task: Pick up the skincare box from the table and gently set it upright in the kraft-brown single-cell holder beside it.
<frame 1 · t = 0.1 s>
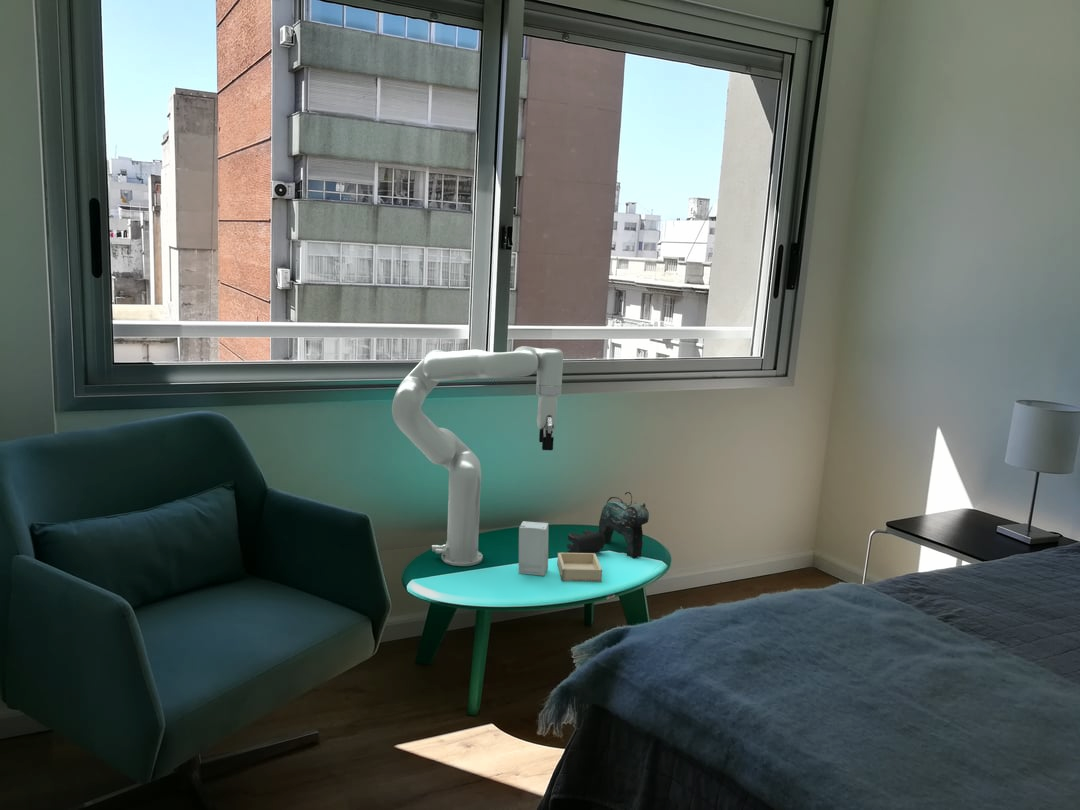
hand: (545, 446, 258), 37 cm above the table, tool pointing down, fingers open, 9 cm apart
ceramic cat: (619, 550, 278), on the table
holder: (578, 572, 257), on the table
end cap: (584, 554, 273), on the table
skincare box: (532, 572, 256), on the table
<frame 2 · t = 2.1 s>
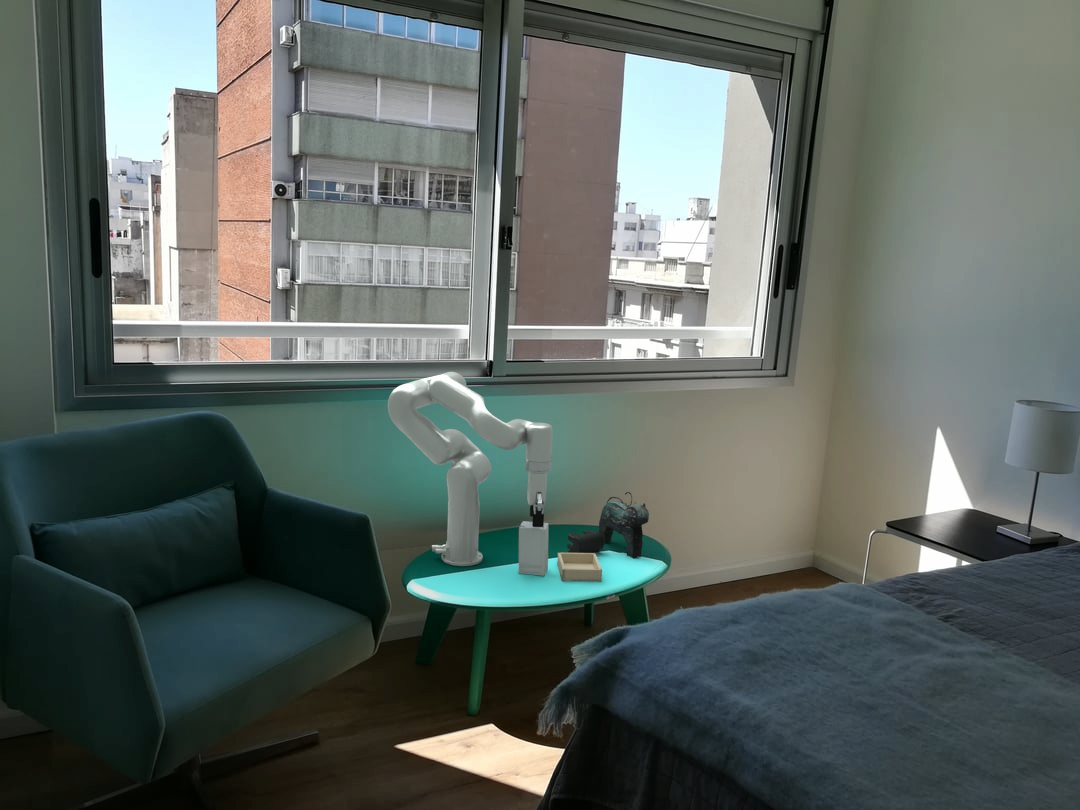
hand: (536, 521, 253), 16 cm above the table, tool pointing down, fingers open, 9 cm apart
nothing on the table moved.
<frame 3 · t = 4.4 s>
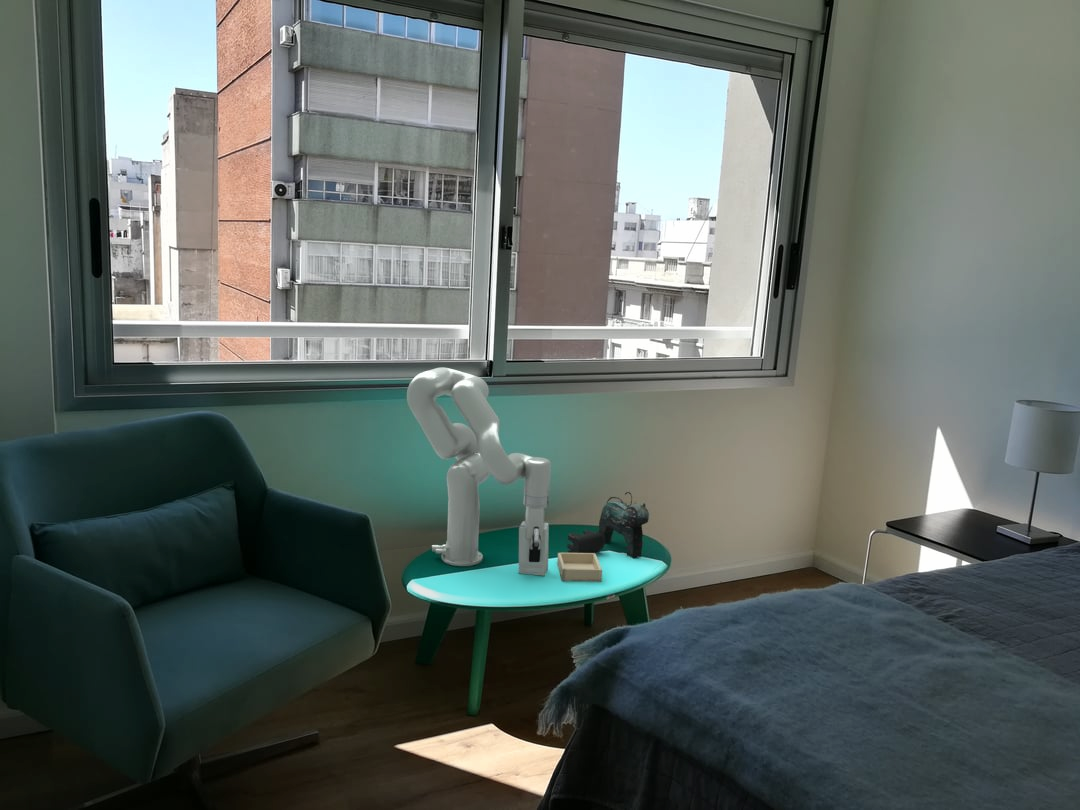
hand: (533, 556, 255), 5 cm above the table, tool pointing down, fingers closed on skincare box, 6 cm apart
skincare box: (532, 572, 256), on the table, touching gripper
everything else where it was.
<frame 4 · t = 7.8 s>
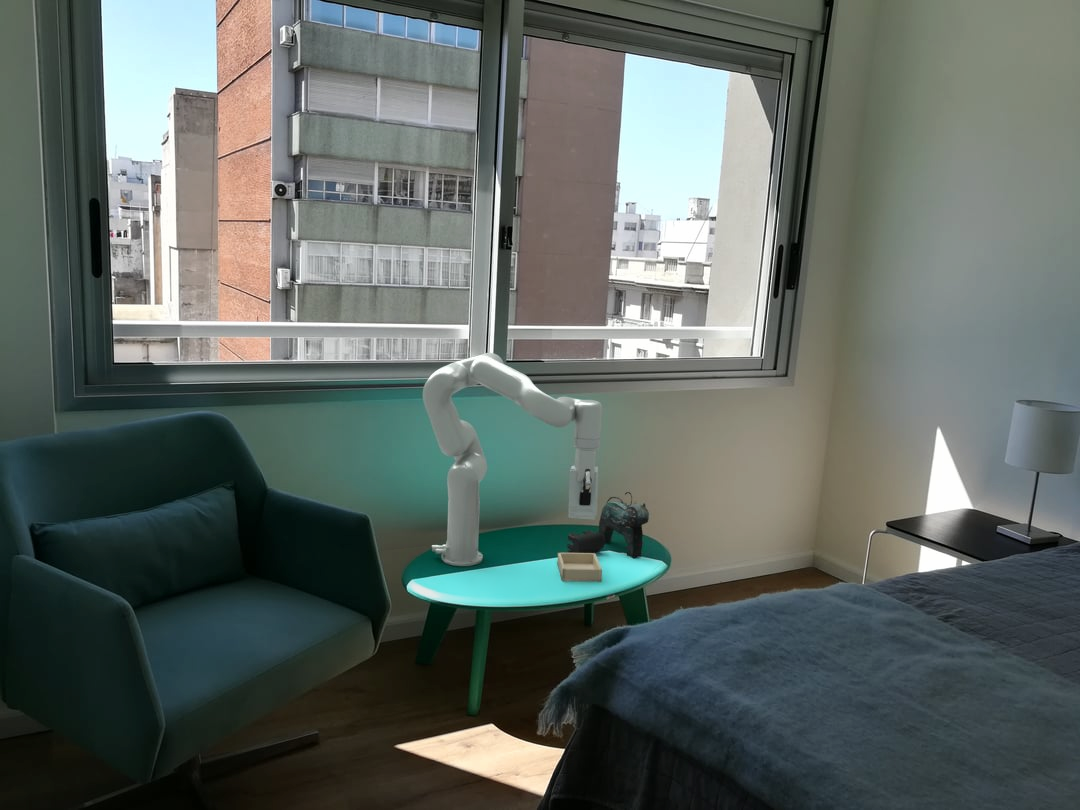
hand: (582, 500, 253), 22 cm above the table, tool pointing down, fingers closed on skincare box, 6 cm apart
skincare box: (581, 517, 254), point 17 cm above the table, touching gripper
everything else where it was.
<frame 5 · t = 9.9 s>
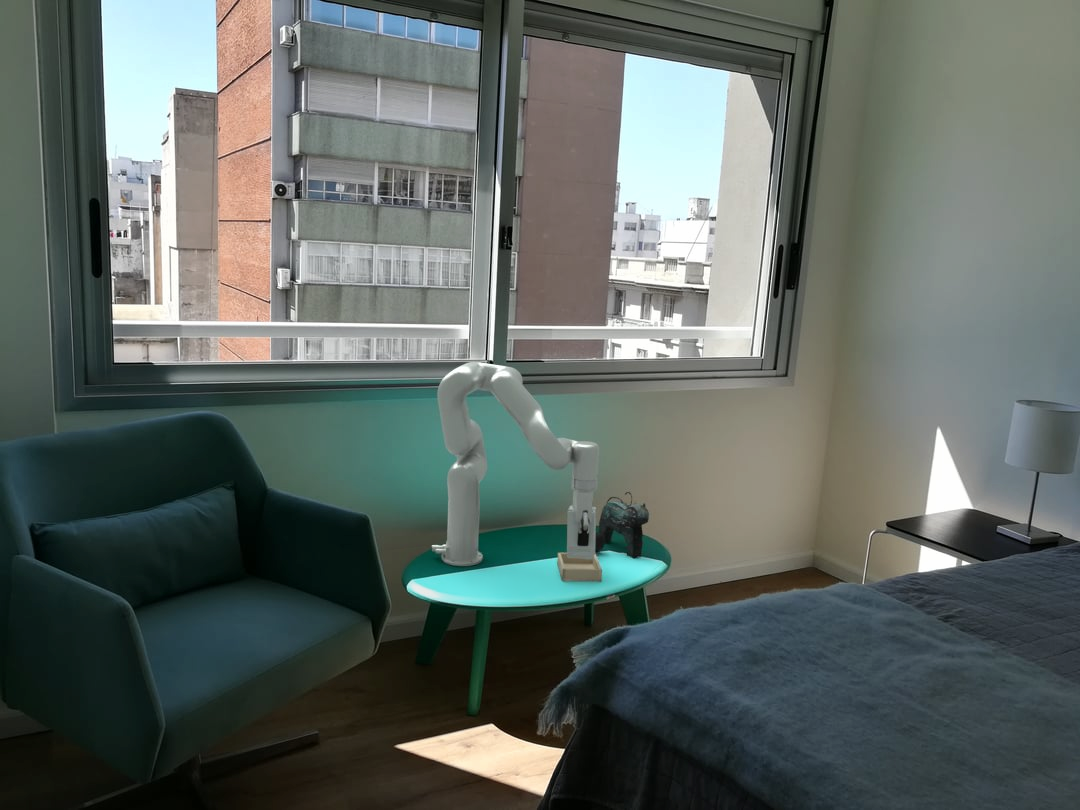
hand: (581, 540, 255), 10 cm above the table, tool pointing down, fingers closed on skincare box, 6 cm apart
skincare box: (580, 556, 256), point 5 cm above the table, touching gripper
everything else where it was.
when the fingers open (7 cm above the table, at t = 11.6 s): skincare box drops 1 cm, resting on holder.
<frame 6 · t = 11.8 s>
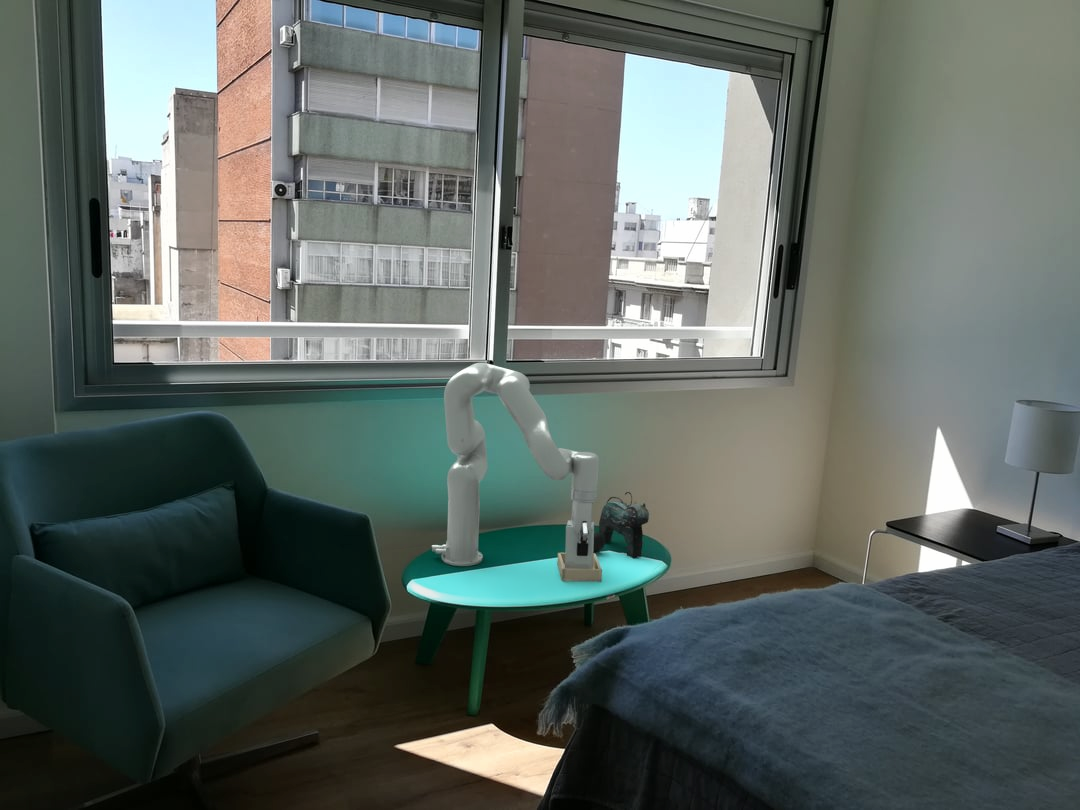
hand: (580, 550, 256), 7 cm above the table, tool pointing down, fingers open, 8 cm apart
skincare box: (578, 571, 257), resting on holder
everything else where it was.
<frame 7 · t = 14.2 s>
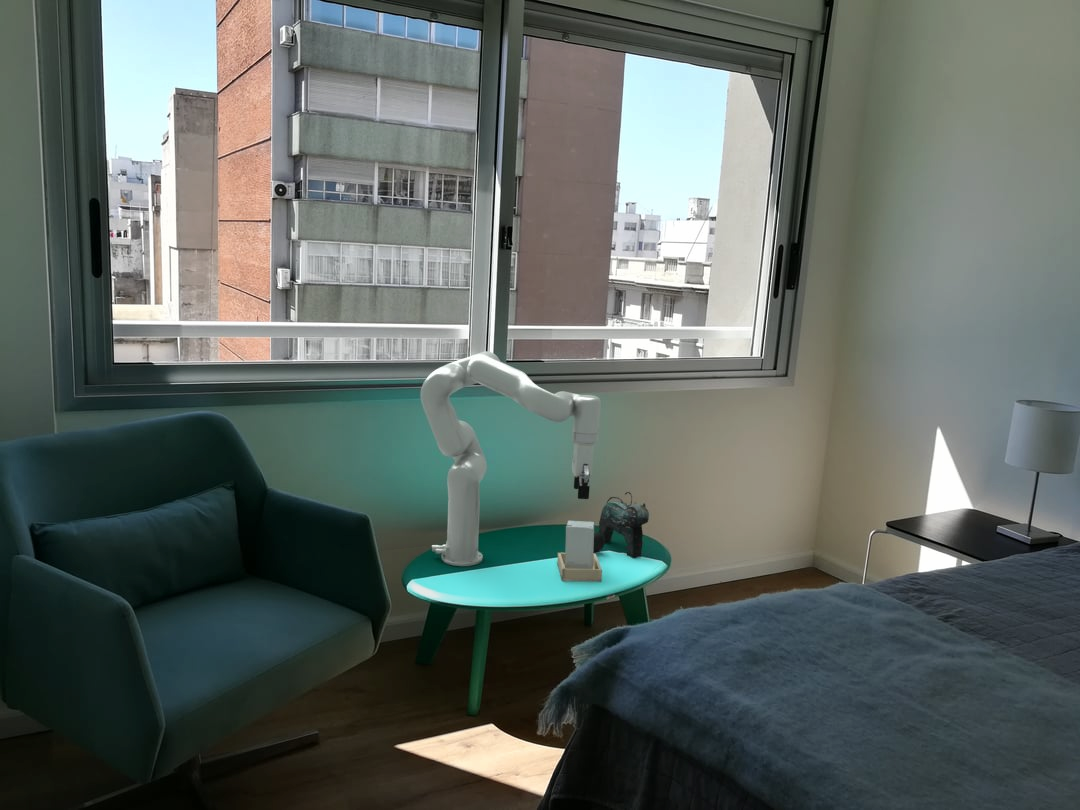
hand: (581, 493, 253), 24 cm above the table, tool pointing down, fingers open, 9 cm apart
nothing on the table moved.
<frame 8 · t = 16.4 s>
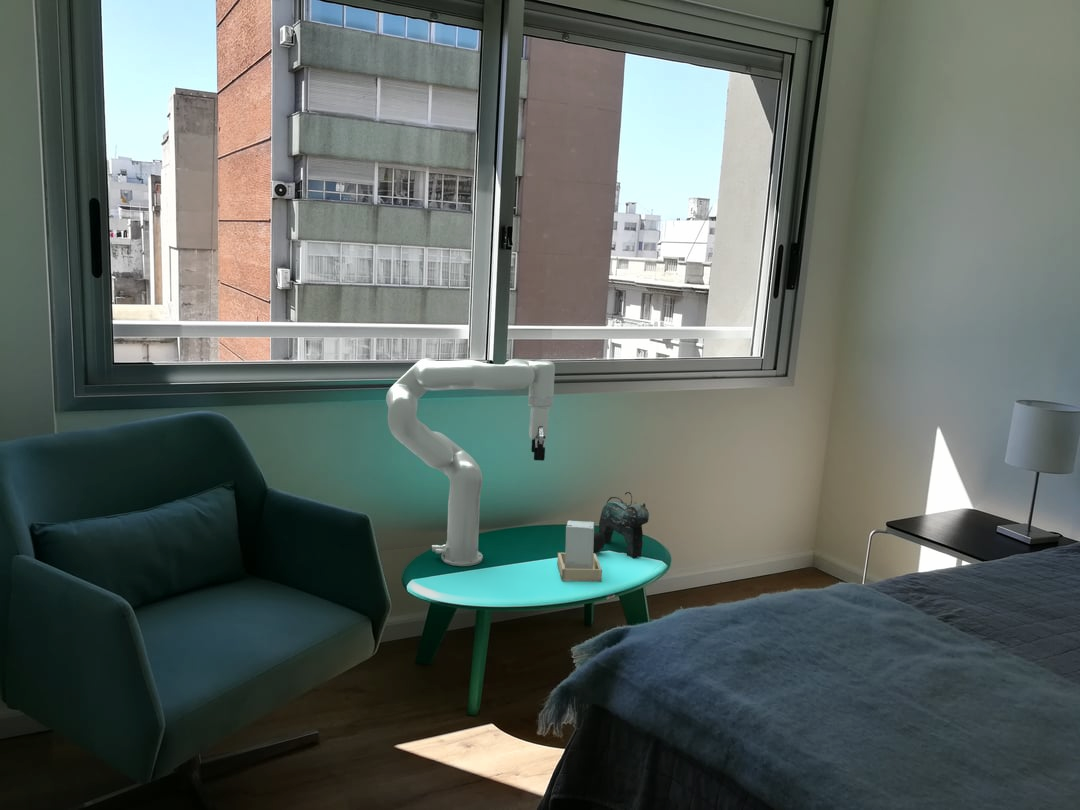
hand: (537, 456, 263), 32 cm above the table, tool pointing down, fingers open, 9 cm apart
nothing on the table moved.
at the end: skincare box 0.2 cm off-centre on the holder, point 0.4 cm above the holder's base; skincare box tilted 0°; the gripper is holding nothing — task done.
